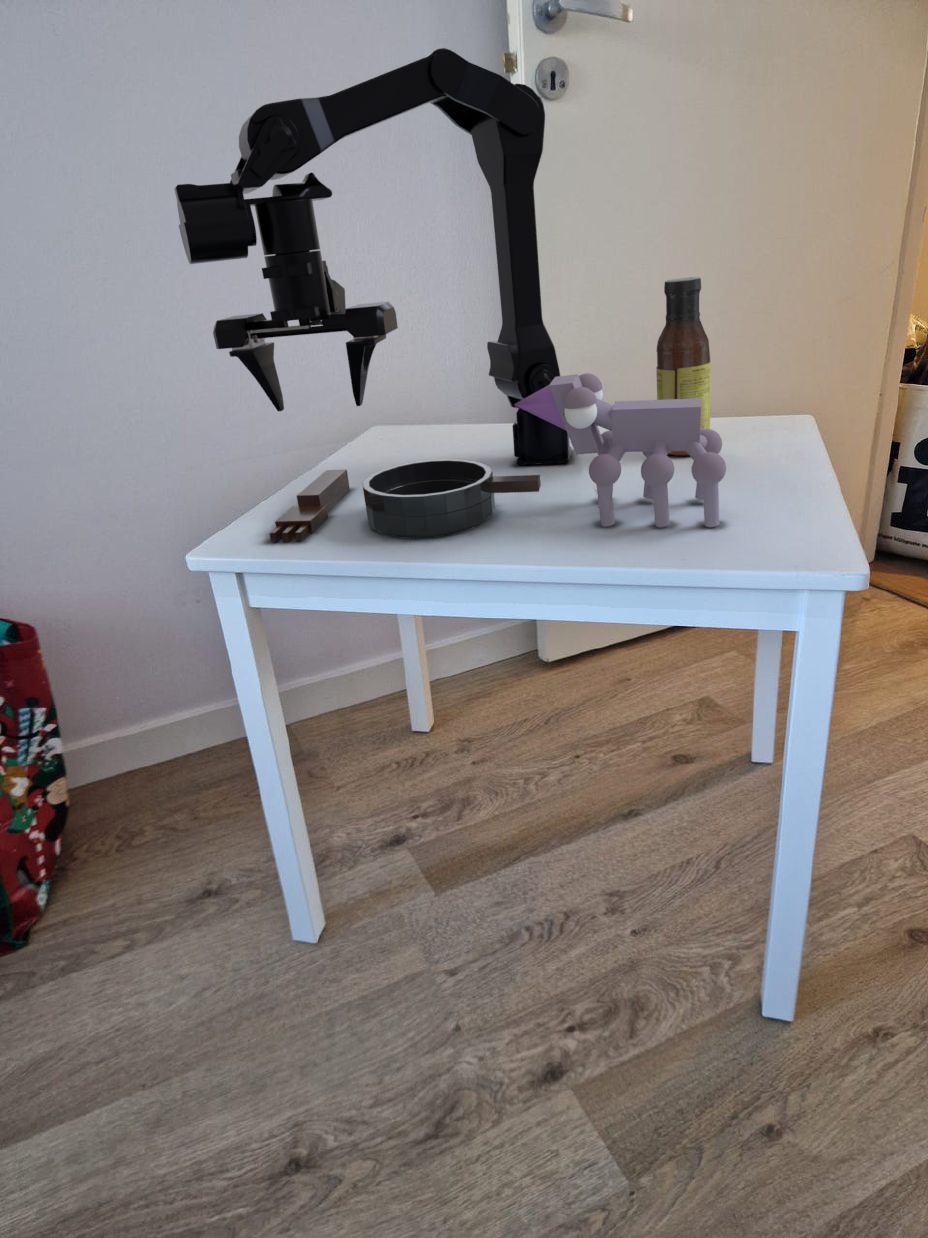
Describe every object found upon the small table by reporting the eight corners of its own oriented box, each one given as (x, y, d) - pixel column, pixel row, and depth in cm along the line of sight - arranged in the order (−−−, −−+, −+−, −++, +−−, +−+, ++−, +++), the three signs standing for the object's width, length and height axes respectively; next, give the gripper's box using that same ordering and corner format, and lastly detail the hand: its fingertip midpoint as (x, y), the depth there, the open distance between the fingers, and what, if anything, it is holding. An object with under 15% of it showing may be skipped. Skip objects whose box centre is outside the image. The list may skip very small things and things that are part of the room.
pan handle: (540, 485, 80) (540, 474, 80) (538, 491, 79) (538, 480, 78) (492, 487, 81) (491, 476, 81) (489, 493, 80) (489, 482, 79)
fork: (324, 490, 96) (321, 470, 95) (355, 489, 95) (352, 468, 94) (268, 542, 81) (262, 518, 79) (304, 541, 80) (299, 517, 79)
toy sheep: (509, 531, 77) (500, 390, 71) (531, 497, 86) (524, 369, 80) (722, 533, 71) (731, 380, 66) (722, 497, 81) (729, 359, 75)
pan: (502, 496, 87) (500, 456, 85) (484, 539, 76) (480, 494, 74) (388, 499, 90) (382, 461, 88) (352, 541, 78) (345, 498, 76)
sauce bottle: (715, 445, 98) (724, 273, 90) (699, 459, 94) (707, 279, 85) (664, 443, 102) (668, 277, 93) (647, 455, 97) (649, 282, 88)
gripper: (400, 241, 85) (417, 388, 92) (241, 258, 89) (269, 398, 96) (371, 244, 75) (394, 408, 82) (194, 263, 79) (230, 419, 86)
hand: (319, 407), depth 87 cm, fingers open, 9 cm apart
